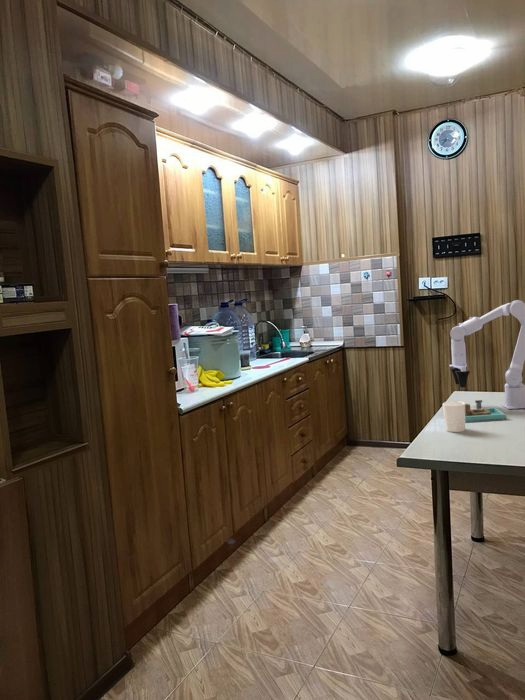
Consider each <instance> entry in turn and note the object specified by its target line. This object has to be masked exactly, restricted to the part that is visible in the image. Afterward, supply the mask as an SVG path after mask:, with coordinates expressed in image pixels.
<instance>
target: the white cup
mask: <svg viewBox="0 0 525 700" xmlns="http://www.w3.org/2000/svg"><path fill="white" fill-rule="evenodd" d="M465 404H466V402H464V401H461V400H460V401H459V400H451V401H444V402H443V403H442V411H443V420H444V424H445V431H447V432H449V433H462V432H464V431H465V430H466V422H465Z"/></svg>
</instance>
